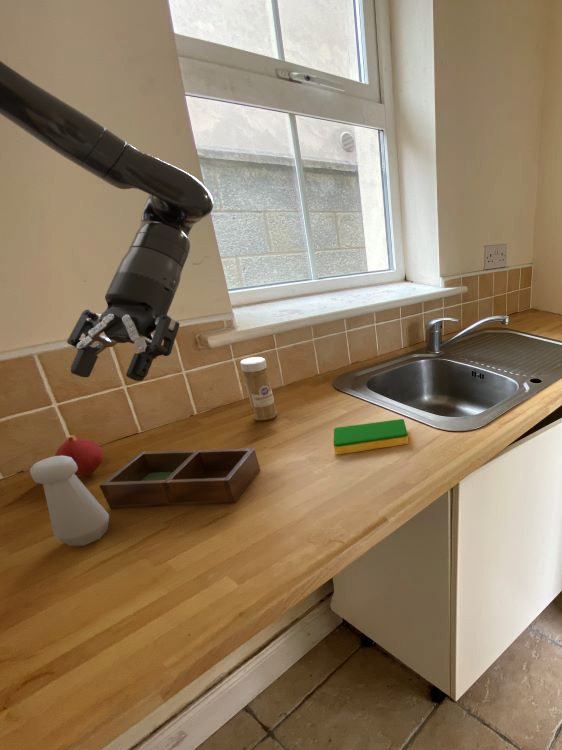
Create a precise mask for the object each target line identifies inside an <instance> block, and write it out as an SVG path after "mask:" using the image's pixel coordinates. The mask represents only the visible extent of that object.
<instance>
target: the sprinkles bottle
mask: <svg viewBox="0 0 562 750" xmlns="http://www.w3.org/2000/svg"><path fill="white" fill-rule="evenodd" d="M239 363H240V368H241V371H242V373H243V377H244V381H245V387H246V390H247V393H248V397H249V402H250V406H251V407H252V412H253V417H254V419H255V420H256V421H260V422H264V421H269V420H272V419H275V418H276V417H277V416H278V411H277V409H276V403H275V399H274V394H273V390H272V387H271V382H270V378H269V374H268V369H267V367H268V365H267V361H266V359H265V358H264V357H261V356H252V357H247V358H244V359H242V360H241V361H240V362H239Z"/></svg>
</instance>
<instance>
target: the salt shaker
mask: <svg viewBox="0 0 562 750" xmlns="http://www.w3.org/2000/svg"><path fill="white" fill-rule="evenodd" d="M77 469H78V467H77V464H76V462H75V461H74V460H73V459H72V457H68V456H63V455H62V456H55V455H54V456H50V457H46V458H44V459H40V460H38V461H37V462H35V463H34V464H33V465H32V466H31V468H29V473H30V476H31V478H32V480H33V481H34V482H35V483H36V484H41V485H42V486H43V490H44V495H45V499H46V503H47V508H48V513H49V519H50V525H51V530H52V533H53V535H54V537H55V538H56V539H57V540H59V541H61V542H62V543H64V544H66V545H68V546H72V547H75V546H77V547H82V546H86V545H89V544H91V543H93V542H95V541H98V540H100V539H101V538H102V537H103V536H104V535H105V534H106V532H107V531H108V528H109V523H110V514H109V513H108V512H107V510H106V509H105V508H104V507H103V506H102V505H101V504H100V503H99V502H98V500H97V498H96V497H95V496H94V495H93V494H92V493H91V491H89V489H88V488H87V487H86V486H85V485H84V484H83V482H82V481H81V479H80V478H79V477H78V475H75V472H76V471H77Z"/></svg>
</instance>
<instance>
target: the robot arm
mask: <svg viewBox="0 0 562 750" xmlns="http://www.w3.org/2000/svg"><path fill="white" fill-rule="evenodd" d="M0 115H1V117H3V118H5V119H6V120H7V121H10V122H11V123H13V124H14V125H16V126H17V127H19V128H20V129H22V130H23V131H24V132H26V133H27V134H29V135H30V136H32V137H33V138H35V139H36V140H37V141H39V142H41V143H42V144H44V145H45V146H46V147H48V148H49V149H51V150H52V151H54V152H55V153H57V154H59V155H60V156H62V157H64V158H65V159H66V160H68V161H70V162H72V163H73V164H75V165H77V166H79V167H80V168H81V169H83V170H86V171H87V172H88V173H90V174H91V175H94V176H95V177H97V178H99V179H100V180H102V181H104V182H105V183H107V184H109V185H111V186H113V187H115V188H117V189H120V190H131V189H135V190H139V191H142V192H144V193H146V194H148V197H147V199H146V200H145V203H144V206H143V210H142V214H141V218H140V226H139V228H138V230H137V231H136V233H135V234H134V237H133V239H132V241H131V243H130V246H129V248H128V250H127V252H126V253H125V254H124V256H123V257H122V259H121V260H120V263H119V265H118V267H117V268H116V271H115V274H114V276H113V278H112V279H111V282H110V284H109V286H108V288H107V290H106V293H105V295H104V299H105V301H106V305H107V308H106V309H105V310H104V311H103V312H102V313H95V312H93V311H91V310H90V309H84V310H83V311H82V312H81V314H80V316H79V318H78V319H77V322H76V323H75V325H74V327H73V329H72V331H71V332H70V335H69V336H68V338H67V341H66V343H67V344H68V345H69V346H72V347H73V348H76V350H77V352H76V354H75V356H74V358H73V361H72V363H71V365H70V373H71V374H73V375H75V376H77V377H81V378H89V377H90V376H91V374H92V371H93V369H94V367H95V364H96V363H97V360H98V358H99V356H98V355H99V354H100V353H102V352H103V351H104V350H106V349H107V348H113V347H114V346H116V345H117V344H126V343H130V344H132V345H133V344H134V346H135V350H136V351H137V352H134V353H133V356H132V359H131V360H130V363H129V365H128V368H127V370H126V372H125V377H126V378H128V379H131V380H133V381H136V382H142V381H144V380H145V378H146V377H147V376H148V374H149V371H150V369H151V367H152V363H153V361H154V360H157V358H158V357H161V356H164V357H168V356H170V355H171V354H172V350H173V348H174V344H175V341H176V338H177V334H178V330H179V328H180V322H179V321H178V320H176V319H175V318H173V317H172V316H170V315H168V313H169V310H170V308H171V306H172V303H173V301H174V299H175V295H176V293H177V290H178V289H179V285H180V282H181V278H182V274H183V270H184V268H185V265H186V262H187V260H188V257H189V254H190V252H191V241H190V239H189V236H190V232H191V230H192V228H193V227H194V226H195V225H196V224H197V223H198V222H200V221H201V220H204V219H205V218H206V217H208V216H209V215H210V214H211V213H212V211H213V209H214V199H213V197H212V195H211V193H210V191H209V189H207V188H206V186H205V185H204V184H203V183H202V182H201V181H200V180H199V179H197V178H196V177H195V176H193V175H191V174H189V173H188V172H186V171H184V170H183V169H181V168H178V167H176V166H174V165H172V164H170V163H168V162H166V161H164V160H161V159H160V158H157V157H156V156H152V155H150V154H148V153H145V152H143V151H141V150H139V149H137V148H136V147H134V146H133V145H131V143H128V142H127V141H126V140H124V139H123V138H121V137H120V136H118V135H116V133H114V132H112V131H111V130H109V129H108V128H106V127H105V126H103V125H101V124H100V123H99V122H97V121H96V120H94V119H92V118H91V117H89V116H88V115H86V114H84V113H82V111H80V110H78V109H76V108H75V107H73V106H72V105H70V104H68V103H67V102H65V101H63V100H61V99H60V98H59V97H57V96H56V95H54V94H52V93H50V92H48V90H46V89H44V88H42V87H41V86H39V85H37V84H36V83H34V82H33V81H31V80H29V79H28V78H26V77H25V76H23V75H22V74H20V73H19V72H17V71H16V70H14V69H13V68H11V67H10V66H9V65H7V64H6V63H4V62H3V61H1V60H0ZM101 334H104V335H105V336H103V335H101ZM82 335H84V338H83V339H81V337H82ZM95 342H98V343H96V344H95V345H93V344H94V343H95ZM162 343H163V344H162Z"/></svg>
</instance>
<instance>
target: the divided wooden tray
mask: <svg viewBox="0 0 562 750" xmlns="http://www.w3.org/2000/svg"><path fill="white" fill-rule="evenodd" d="M260 471H261V468H260V463H259V460H258V456H257V453H256V449H255V448H227V449H225V448H224V449H223V448H222V449H192V450H191V449H188V450H187V449H186V450H157V451H156V450H155V451H151V450H150V451H139V453H137V454H136V455H135V456H134V457H132V458H131V459H130V460H128V461H127V462H126V463H125V464H124V465H122V466H121V467H120V468H119V469H117V470H116V471H115V472H114V473H113V474H111V475H110V476H109V477H107V478H106V479H105V480H104V481H102V482H101V483H100V484H99V488H100V490H101V492H102V494H103V496H104V499H105V501H106V503H107V506H108V507H109V509H110V510H114V509H116V510H117V509H139V508H140V509H141V508H160V507H162V508H163V507H183V506H184V507H185V506H205V505H206V506H207V505H230V504H231V505H232V504H236V503H237V502H238V501H239V499H240V498H241V496H242V495H243V494H244V493H245V491H246V490H247V488H249V486H250V484H251V483H252V481H253V480H254V479H255V478H256V476H257V475H258V474H259V472H260Z"/></svg>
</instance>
